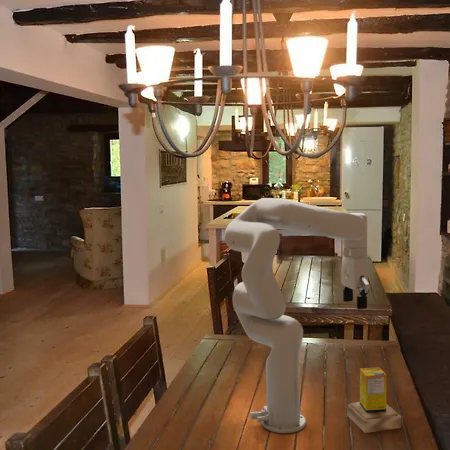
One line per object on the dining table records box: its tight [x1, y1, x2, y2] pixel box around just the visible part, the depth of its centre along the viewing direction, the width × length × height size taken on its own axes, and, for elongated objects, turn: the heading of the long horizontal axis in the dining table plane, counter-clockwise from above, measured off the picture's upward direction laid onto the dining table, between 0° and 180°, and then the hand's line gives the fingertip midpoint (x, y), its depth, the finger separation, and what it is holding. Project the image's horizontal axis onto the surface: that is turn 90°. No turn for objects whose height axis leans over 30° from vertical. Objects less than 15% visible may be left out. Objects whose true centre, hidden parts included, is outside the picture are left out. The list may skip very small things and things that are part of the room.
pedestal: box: [346, 401, 402, 434], centre depth 160 cm, size 11×11×4 cm
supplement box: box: [359, 366, 387, 413], centre depth 159 cm, size 6×6×11 cm
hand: (354, 304), depth 179 cm, fingers open, 9 cm apart
